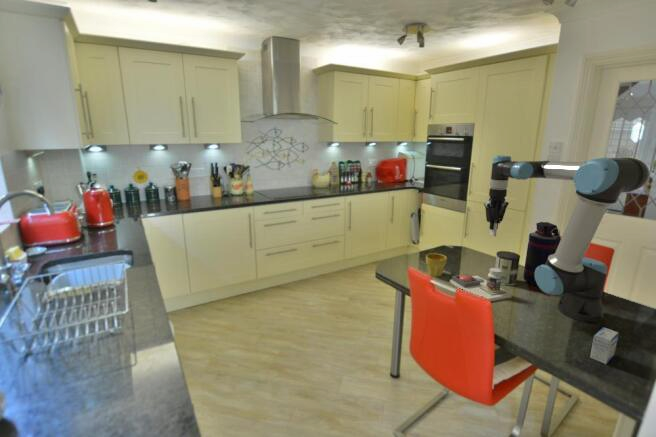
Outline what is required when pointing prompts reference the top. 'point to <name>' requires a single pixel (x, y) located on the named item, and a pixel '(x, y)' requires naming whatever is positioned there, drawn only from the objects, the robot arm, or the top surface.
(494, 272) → the pill bottle
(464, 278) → the button
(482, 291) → the white control panel
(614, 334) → the medicine box
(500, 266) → the coffee can
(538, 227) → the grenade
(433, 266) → the plant pot
